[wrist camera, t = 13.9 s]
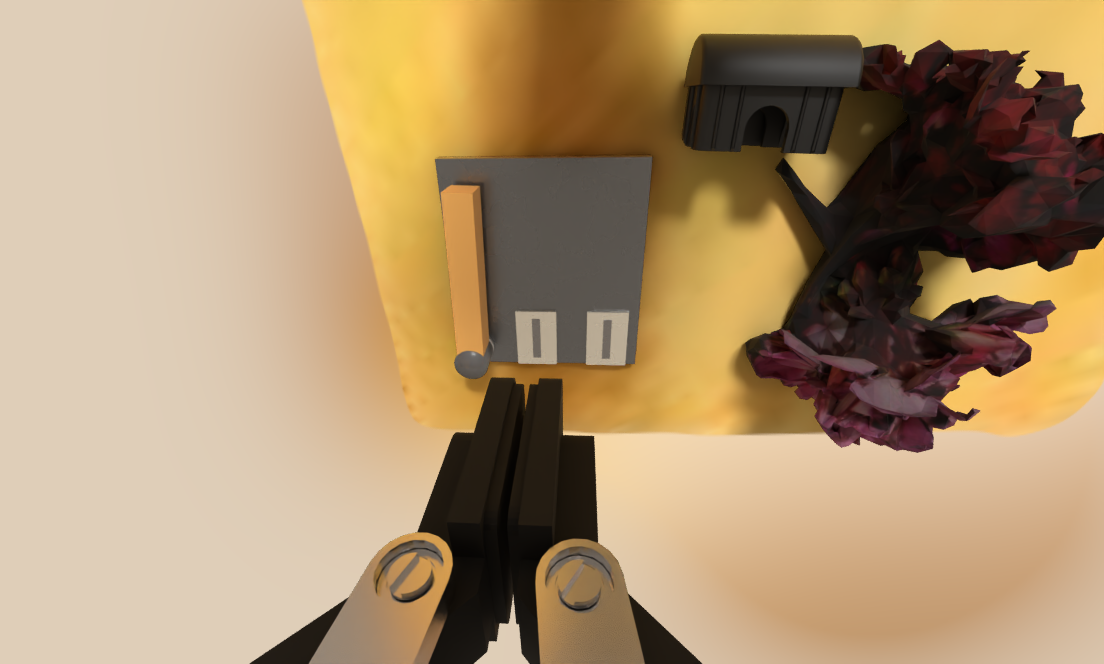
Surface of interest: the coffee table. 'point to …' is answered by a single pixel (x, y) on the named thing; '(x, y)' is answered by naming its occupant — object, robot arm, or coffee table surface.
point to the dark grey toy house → (768, 90)
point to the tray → (560, 253)
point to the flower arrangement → (935, 242)
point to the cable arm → (467, 278)
